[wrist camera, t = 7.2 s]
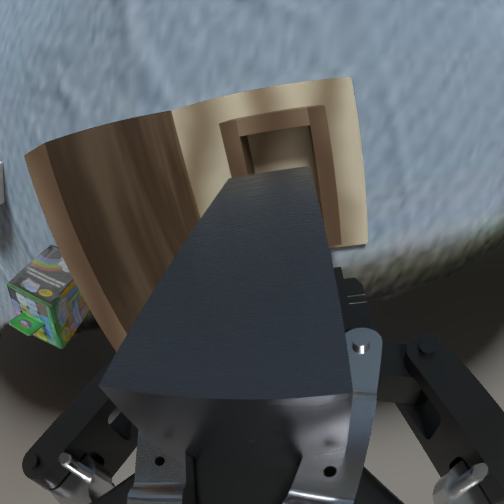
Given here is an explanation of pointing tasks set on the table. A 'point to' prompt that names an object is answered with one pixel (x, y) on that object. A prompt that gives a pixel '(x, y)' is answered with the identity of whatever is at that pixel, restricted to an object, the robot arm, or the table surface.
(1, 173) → the white stepped block
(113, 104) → the table surface
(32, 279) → the chalk box
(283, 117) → the post socket
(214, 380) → the dark grey block
